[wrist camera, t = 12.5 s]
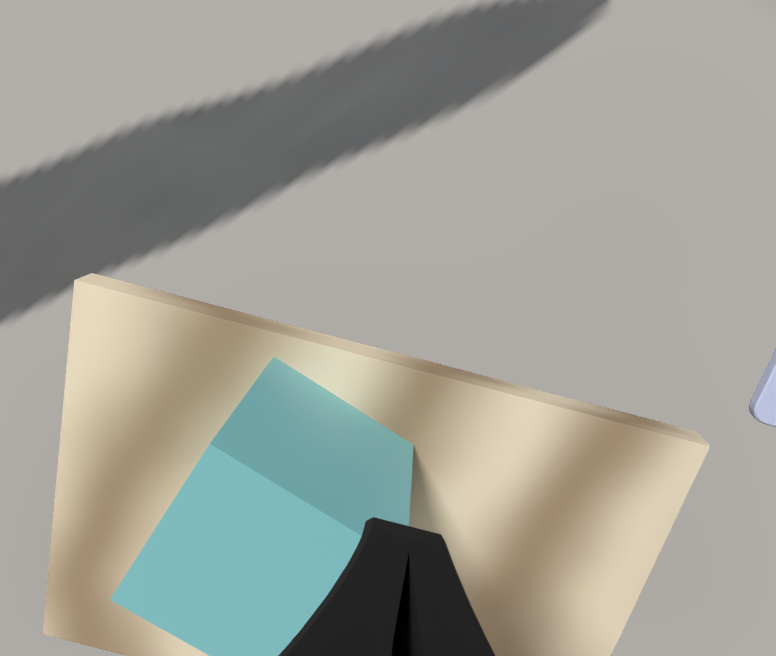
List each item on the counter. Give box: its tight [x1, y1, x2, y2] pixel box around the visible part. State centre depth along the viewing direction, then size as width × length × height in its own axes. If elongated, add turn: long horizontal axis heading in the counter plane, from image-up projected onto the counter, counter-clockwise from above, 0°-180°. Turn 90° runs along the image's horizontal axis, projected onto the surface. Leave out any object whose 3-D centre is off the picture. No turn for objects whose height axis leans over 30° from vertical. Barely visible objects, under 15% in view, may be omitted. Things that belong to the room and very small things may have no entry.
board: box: [43, 273, 710, 656], centre depth 19 cm, size 20×14×5 cm
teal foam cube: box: [110, 357, 414, 656], centre depth 17 cm, size 5×5×6 cm
